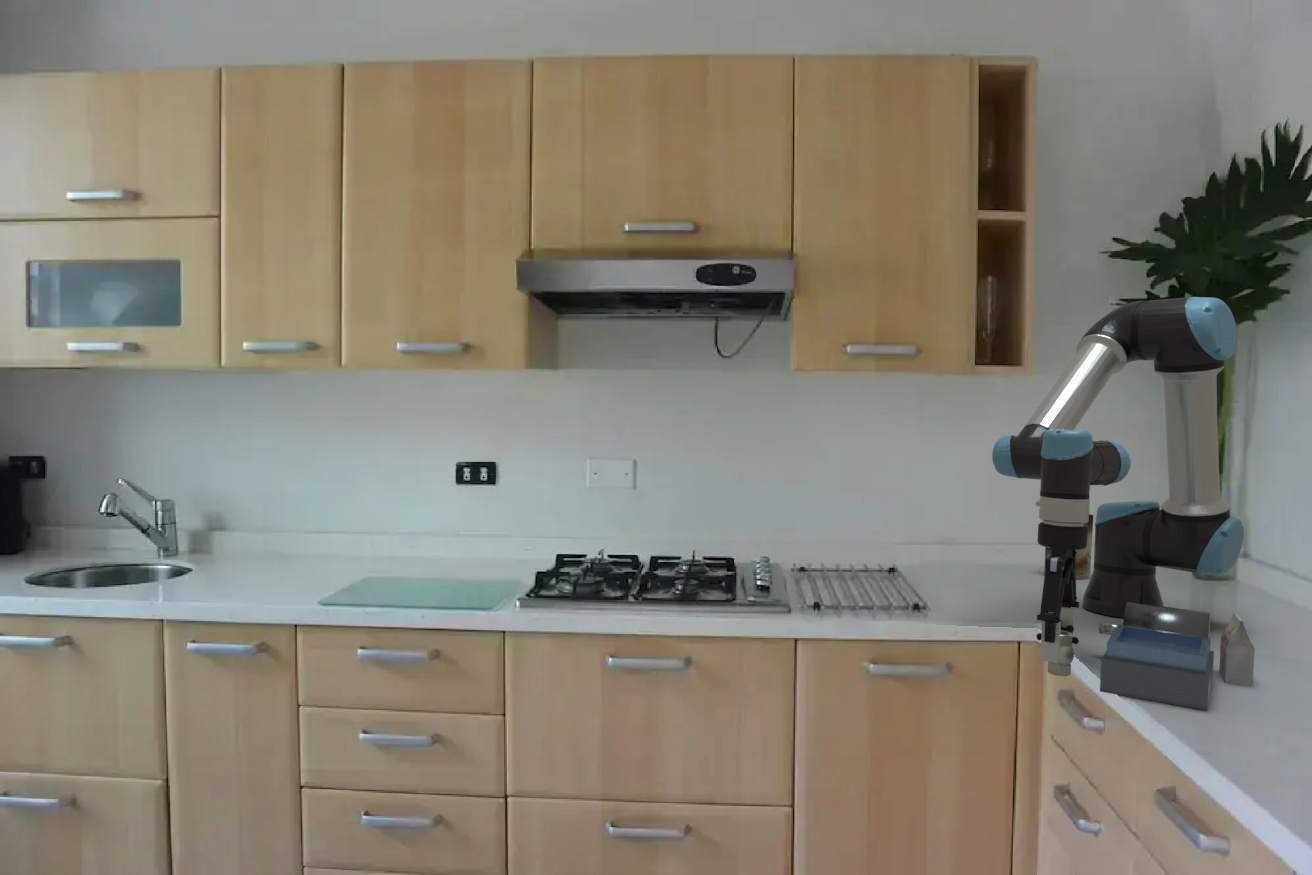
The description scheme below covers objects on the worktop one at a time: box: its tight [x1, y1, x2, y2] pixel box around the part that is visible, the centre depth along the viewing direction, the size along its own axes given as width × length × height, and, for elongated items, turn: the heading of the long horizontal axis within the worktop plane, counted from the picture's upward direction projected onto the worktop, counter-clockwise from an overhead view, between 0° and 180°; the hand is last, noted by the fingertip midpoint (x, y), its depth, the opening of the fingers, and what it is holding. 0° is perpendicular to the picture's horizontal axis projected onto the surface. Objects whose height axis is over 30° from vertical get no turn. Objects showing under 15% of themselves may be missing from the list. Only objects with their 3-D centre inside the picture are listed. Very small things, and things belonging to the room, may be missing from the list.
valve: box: [1035, 620, 1080, 677], centre depth 152 cm, size 7×7×12 cm
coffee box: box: [1043, 513, 1095, 581], centre depth 229 cm, size 9×6×16 cm
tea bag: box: [1218, 612, 1256, 687], centre depth 148 cm, size 4×7×10 cm, turn 155°
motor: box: [1098, 602, 1215, 711], centre depth 147 cm, size 26×17×10 cm, turn 147°
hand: (1056, 653), depth 153 cm, fingers closed on valve, 12 cm apart
